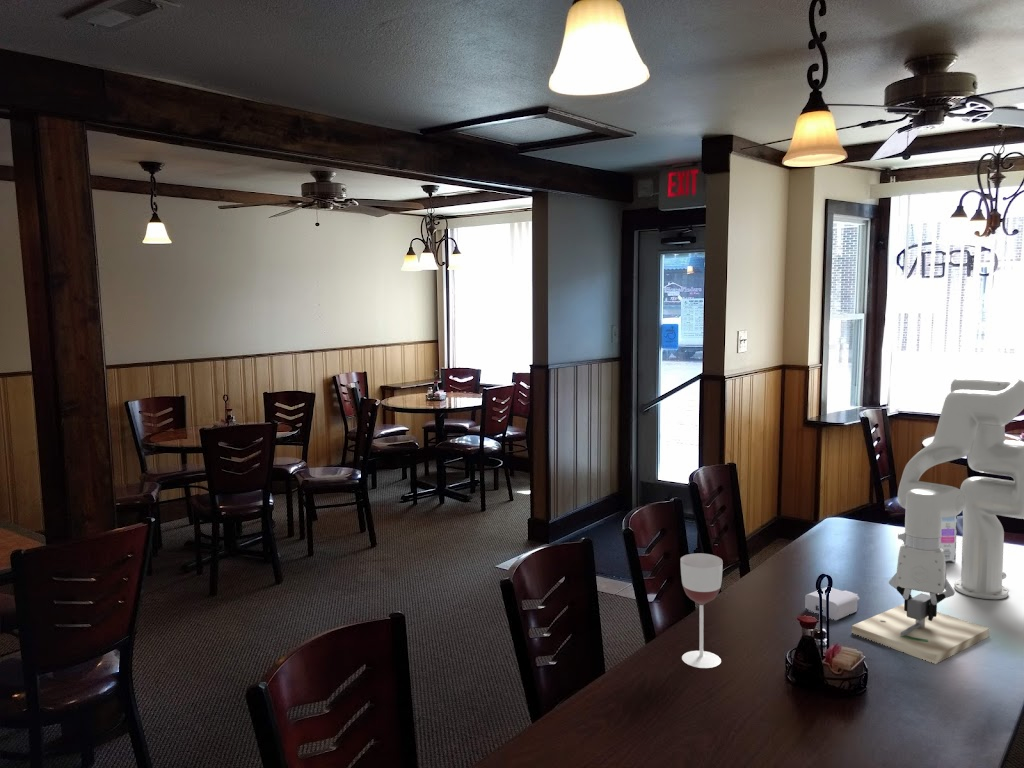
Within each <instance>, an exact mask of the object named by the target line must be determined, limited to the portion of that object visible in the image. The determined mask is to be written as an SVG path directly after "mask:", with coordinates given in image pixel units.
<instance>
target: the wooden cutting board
mask: <svg viewBox="0 0 1024 768" xmlns="http://www.w3.org/2000/svg"><path fill="white" fill-rule="evenodd" d="M915 622H916V619H913V618H910V617H907V611H904V603H902V604H899V605H898V606H895V607H893V608H891V609H887V610H886V611H885V610H884V612H880V613H879V614H875V615H874V616H872V617H869V618H867V619H864V620H862V621H860V622H857V623H855V624H852V625H851V634H852V633H854V634H853V635H855V634H856V635H855V636H857V635H859V636H858V637H860V636H862V637H861V638H863V637H864V638H863V639H865V638H867V639H866V640H868V639H869V640H868V641H871V640H872V641H871V642H874V641H875V642H874V643H876V642H877V644H879V643H881V644H880V645H882V644H883V645H882V646H884V645H885V647H887V646H888V647H887V648H890V647H891V648H890V649H894V650H896V651H899V652H902V653H903V652H904V654H907V655H909V656H911V657H914V658H917V659H920V660H922V659H923V661H925V660H926V662H928V663H931V662H932V663H931V664H933V663H935V664H934V665H937V664H939V663H941V662H943V661H945V660H947V659H948V657H949V658H951V657H952V655H953V656H954V655H956V654H958V653H960V652H962V651H964V650H966V649H968V648H970V647H972V646H973V645H975V644H977V643H979V642H981V641H983V640H985V639H987V638H989V637H990V627H986V626H984V625H980V624H977V623H974V622H970V621H968V620H965V619H961V618H958V617H954V616H951V615H948V614H945V613H941V612H938V611H937V615H936V617H933V619H932V621H929V620H928V616H927V617H926V618H925V627H924V628H919V627H918V628H917V629H915V630H913V631H912V632H910V633H908V634H907V635H905V636H902V635H901V632H902V631H904V630H906V629H907V628H909V627H911V626H912V625H914V624H915ZM950 656H951V657H950ZM946 658H947V659H946ZM944 659H945V660H944ZM942 660H943V661H942ZM940 661H941V662H940ZM938 662H939V663H938ZM936 663H937V664H936Z"/></svg>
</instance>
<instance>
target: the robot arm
mask: <svg viewBox="0 0 1024 768" xmlns="http://www.w3.org/2000/svg"><path fill="white" fill-rule="evenodd" d="M944 399H945V400H944V401H943V406H942V408H941V411H940V412H941V413H940V416H939V419H938V422H937V423H938V424H937V427H936V430H935V432H934V437H933V440H932V442H930V443H929V444H928V445H927V446H925V447H924V448H922V449H920V451H918V452H916V454H914V455H913V456H912V457H911V458H910V460H909V461H908V462H907V463H906V464H905V467H904V469H903V471H902V475H901V479H900V482H899V486H898V490H897V502H898V504H899V506H900V507H902V508H903V509H905V514H904V515H905V517H904V532H903V533H897V539H898V540H901V541H902V542H903V543H902V544H900V547H899V551H898V556H897V565H896V573H895V574H894V575H893V576H892V577H891V578H890V579H889V581H888V584H889V585H890V586H891V587H893V588H894V589H896V591H897V592H898V593H899V594H900V595H901V596H902V598H903V600H904V601H903V602H904V603H903V604H904V611H907V605H908V600H909V599H911V598H913V597H912V591H917V592H923V593H929V595H930V598H931V601H930V603H929V614H928V620H929V621H932V619H933V617H936V615H937V612H938V604H939V603H940V602H942V601H943V600H945V599H947V598H950V597H953V596H954V595H955V594H956V592H955V590H956V591H957V592H959V593H961V594H963V595H966V596H969V597H973V598H975V599H976V598H977V599H983V600H1001V599H1005V598H1007V597H1008V596H1009V589H1007V587H1005V586H1003V580H1004V579H1006V578H1007V574H1006V572H1004V571H1003V566H1004V565H1003V563H1004V547H1005V546H1004V541H1005V540H1004V539H1005V531H1004V527H1003V525H1002V523H1001V521H1000V519H998V517H997V516H1001V517H1008V518H1013V519H1014V518H1015V519H1021V520H1022V519H1023V520H1024V441H1022V440H1014V439H1013V440H1012V439H1008V438H1006V434H1005V433H1006V429H1005V428H1006V425H1008V424H1009V423H1011V421H1013V420H1014V419H1015V418H1016V417H1017V416H1018V415H1019V414H1020V413H1021V412H1022V411H1023V410H1024V381H1023V380H1022V379H1017V378H1010V377H1009V378H1007V377H992V376H991V377H987V376H961V377H956V378H955V379H953V381H952V382H951V384H950V393H948V394H947V395H946V397H945V398H944ZM965 457H967V464H968V467H969V468H970V469H971V470H972V471H975V472H979V473H981V474H982V473H984V474H990V475H997V476H1005V477H1011V478H1012V479H1013V480H1009V479H1001V478H994V477H988V476H970V477H967V478H966V479H964V480H963V481H962V483H961V485H960V488H958V487H955V486H951V485H947V484H940V483H934V482H929V481H928V482H927V481H923V480H922V481H920V479H921V476H922V475H923V474H924V473H925V472H927V470H929V469H931V468H932V467H935V466H936V465H940V464H943V463H946V462H951V461H954V460H958V459H963V458H965ZM961 513H962V541H961V542H962V543H961V546H962V547H961V548H962V549H961V570H960V572H961V573H960V580H956V581H955V582H954V586H953V587H954V588H953V587H952V586H951V584H950V582H949V581H948V579H947V565H946V564H947V562H945V555H944V550H943V549H942V548H941V519H942V518H951V517H955V516H957V517H958V515H960V514H961ZM954 589H955V590H954Z"/></svg>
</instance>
